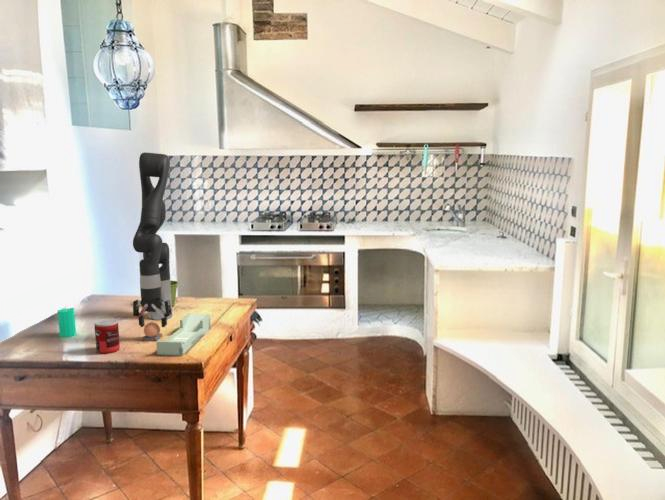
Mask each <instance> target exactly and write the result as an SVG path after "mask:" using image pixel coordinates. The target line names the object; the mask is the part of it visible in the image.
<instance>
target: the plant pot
mask: <svg viewBox="0 0 665 500" xmlns="http://www.w3.org/2000/svg"><path fill="white" fill-rule="evenodd" d="M170 284H171V301H172V307H174V306H175V304H176V296H177V290H178V285H179V284H180V283H179V281H177V280H171V279H170Z"/></svg>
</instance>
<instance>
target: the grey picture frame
mask: <svg viewBox="0 0 665 500" xmlns="http://www.w3.org/2000/svg"><path fill="white" fill-rule="evenodd" d="M162 337H163V333H159V335H158V336H156V337H147V336H146V335H145V334H144V336H143V337H142V342H157V341H160V339H161V338H162Z"/></svg>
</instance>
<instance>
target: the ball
mask: <svg viewBox="0 0 665 500" xmlns="http://www.w3.org/2000/svg"><path fill="white" fill-rule="evenodd" d="M160 332H161V327H160V325H159V324H158V323H156V322H152V321H151V322H148V323H147V324H146V325H144V328H143V334H144V336H145V335H146V336H147V337H156V336H158V335H159V333H160Z"/></svg>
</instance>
